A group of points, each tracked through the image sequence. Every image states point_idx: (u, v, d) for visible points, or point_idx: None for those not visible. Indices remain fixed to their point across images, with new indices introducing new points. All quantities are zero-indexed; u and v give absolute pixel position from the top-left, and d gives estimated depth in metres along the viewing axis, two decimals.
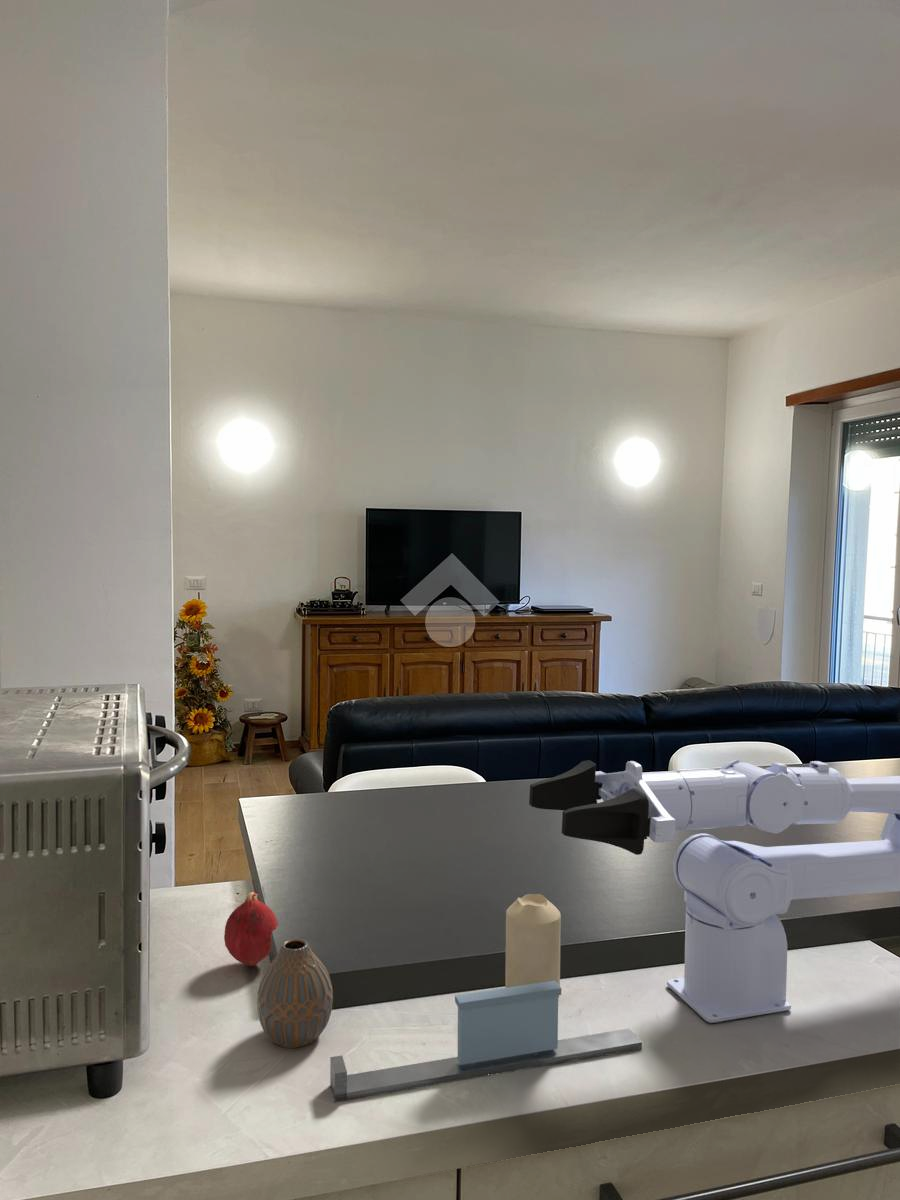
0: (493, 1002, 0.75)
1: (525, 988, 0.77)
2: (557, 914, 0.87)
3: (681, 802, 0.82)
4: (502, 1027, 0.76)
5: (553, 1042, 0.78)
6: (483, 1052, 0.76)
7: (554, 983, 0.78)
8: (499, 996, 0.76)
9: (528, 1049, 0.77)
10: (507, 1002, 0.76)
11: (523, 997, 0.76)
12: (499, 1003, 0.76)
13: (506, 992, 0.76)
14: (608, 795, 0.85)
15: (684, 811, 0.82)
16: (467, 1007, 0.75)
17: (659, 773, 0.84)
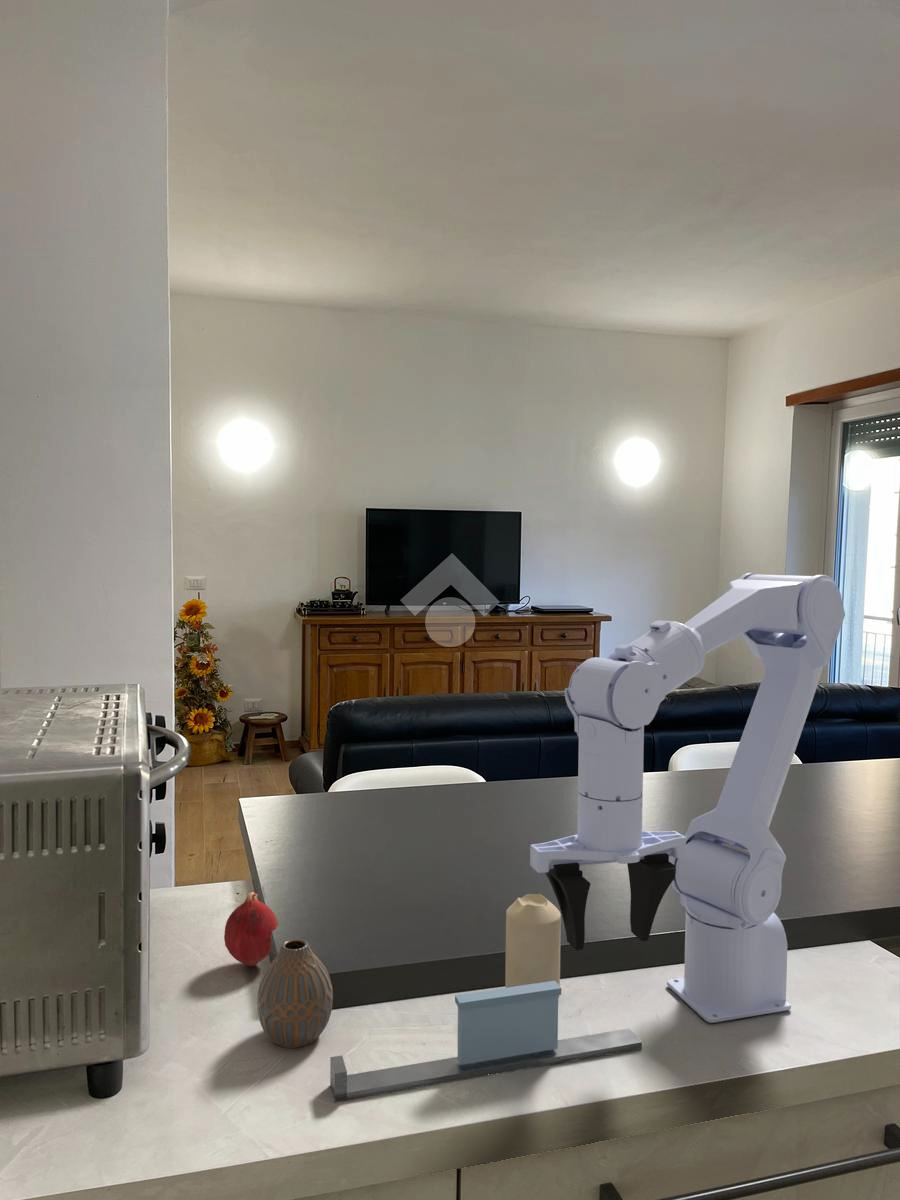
0: (493, 1002, 0.75)
1: (525, 988, 0.77)
2: (557, 914, 0.87)
3: None
4: (502, 1027, 0.76)
5: (553, 1042, 0.78)
6: (483, 1052, 0.76)
7: (554, 983, 0.78)
8: (499, 996, 0.76)
9: (528, 1049, 0.77)
10: (507, 1002, 0.76)
11: (523, 997, 0.76)
12: (499, 1003, 0.76)
13: (506, 992, 0.76)
14: (591, 864, 0.78)
15: None
16: (467, 1007, 0.75)
17: (624, 823, 0.76)
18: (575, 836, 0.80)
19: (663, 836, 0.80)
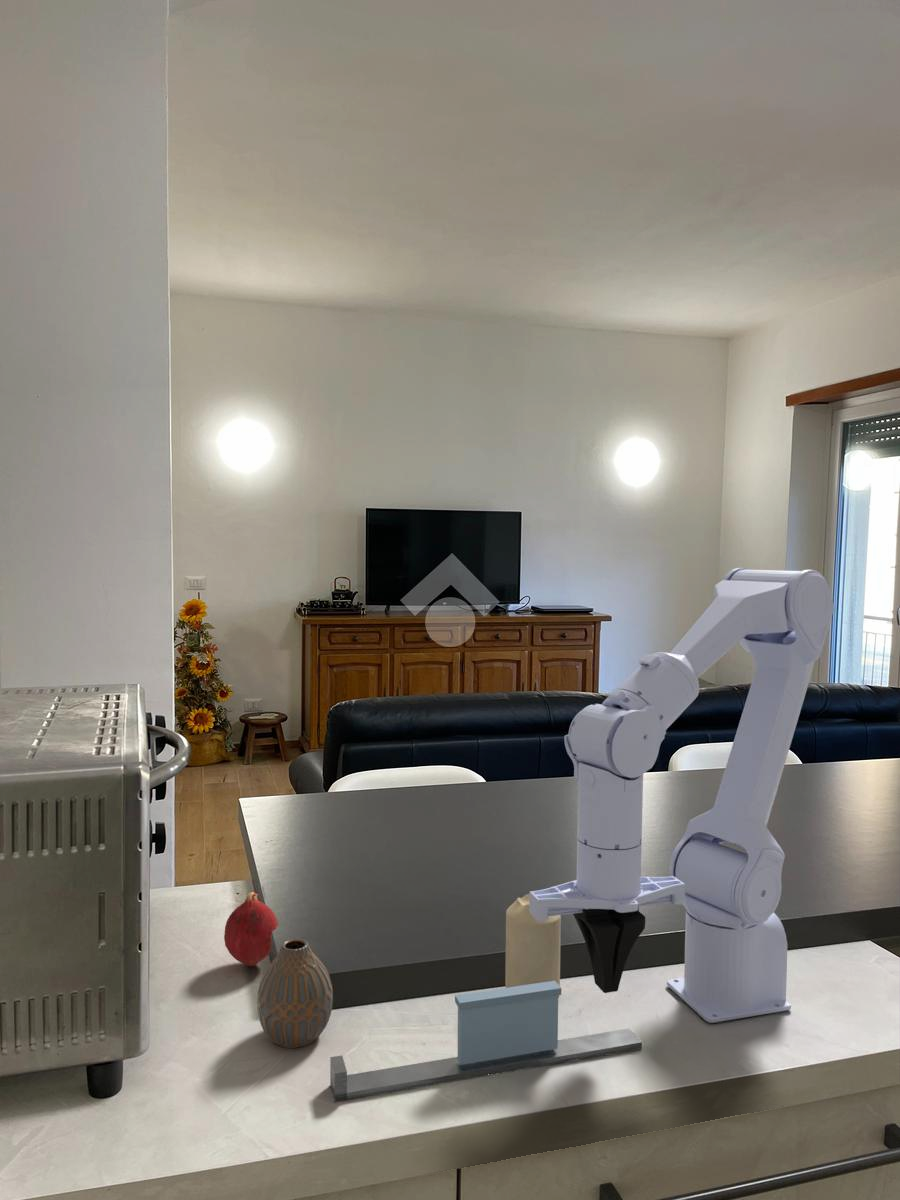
0: (493, 1002, 0.75)
1: (525, 988, 0.77)
2: None
3: None
4: (502, 1027, 0.76)
5: (553, 1042, 0.78)
6: (483, 1052, 0.76)
7: (554, 983, 0.78)
8: (499, 996, 0.76)
9: (528, 1049, 0.77)
10: (507, 1002, 0.76)
11: (523, 997, 0.76)
12: (499, 1003, 0.76)
13: (506, 992, 0.76)
14: None
15: None
16: (467, 1007, 0.75)
17: (623, 871, 0.76)
18: (574, 882, 0.80)
19: (662, 882, 0.80)
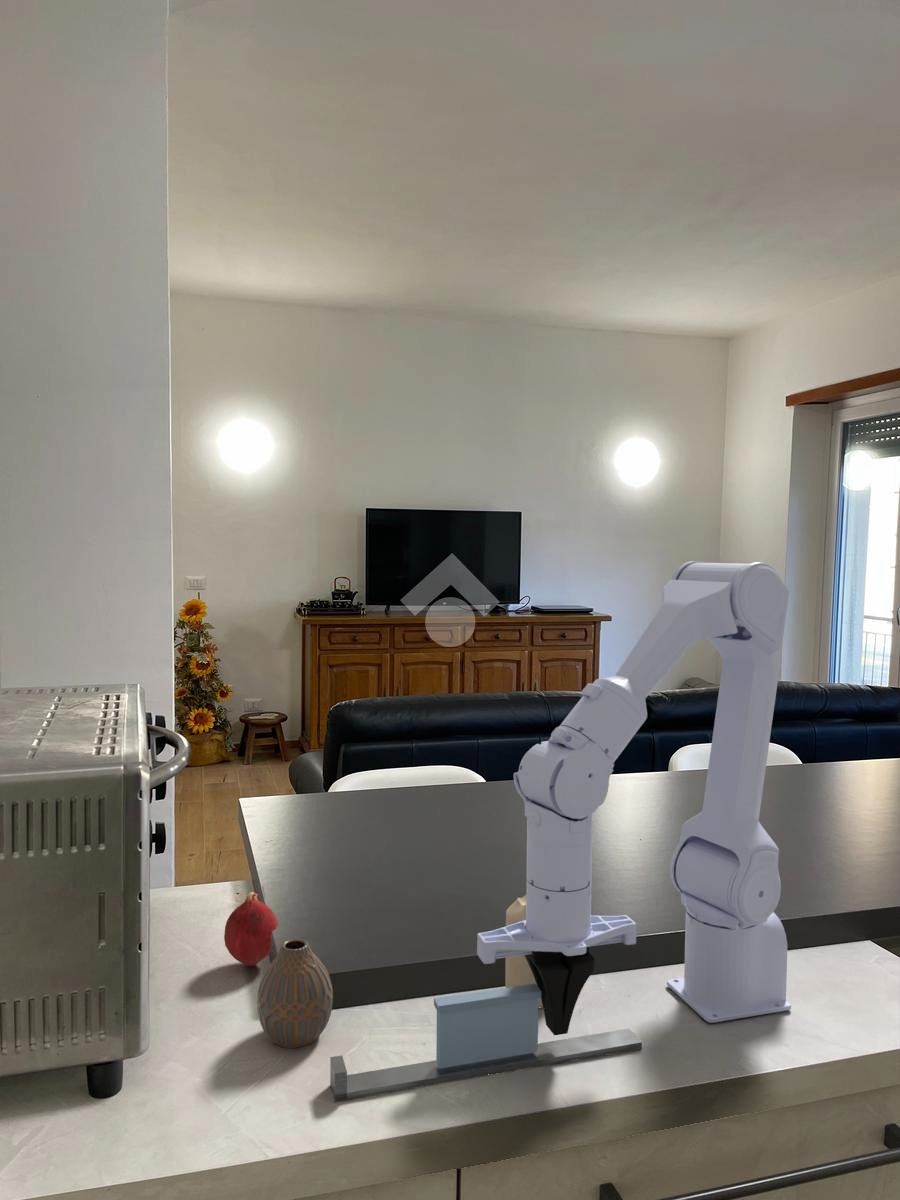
0: (472, 1005, 0.75)
1: (505, 991, 0.77)
2: None
3: None
4: (481, 1030, 0.76)
5: (533, 1045, 0.77)
6: (462, 1055, 0.75)
7: (534, 985, 0.78)
8: (478, 999, 0.75)
9: (507, 1053, 0.76)
10: (486, 1005, 0.75)
11: (502, 1000, 0.76)
12: (478, 1006, 0.75)
13: (485, 995, 0.76)
14: None
15: None
16: (446, 1010, 0.74)
17: (571, 913, 0.75)
18: (524, 922, 0.79)
19: (613, 922, 0.79)
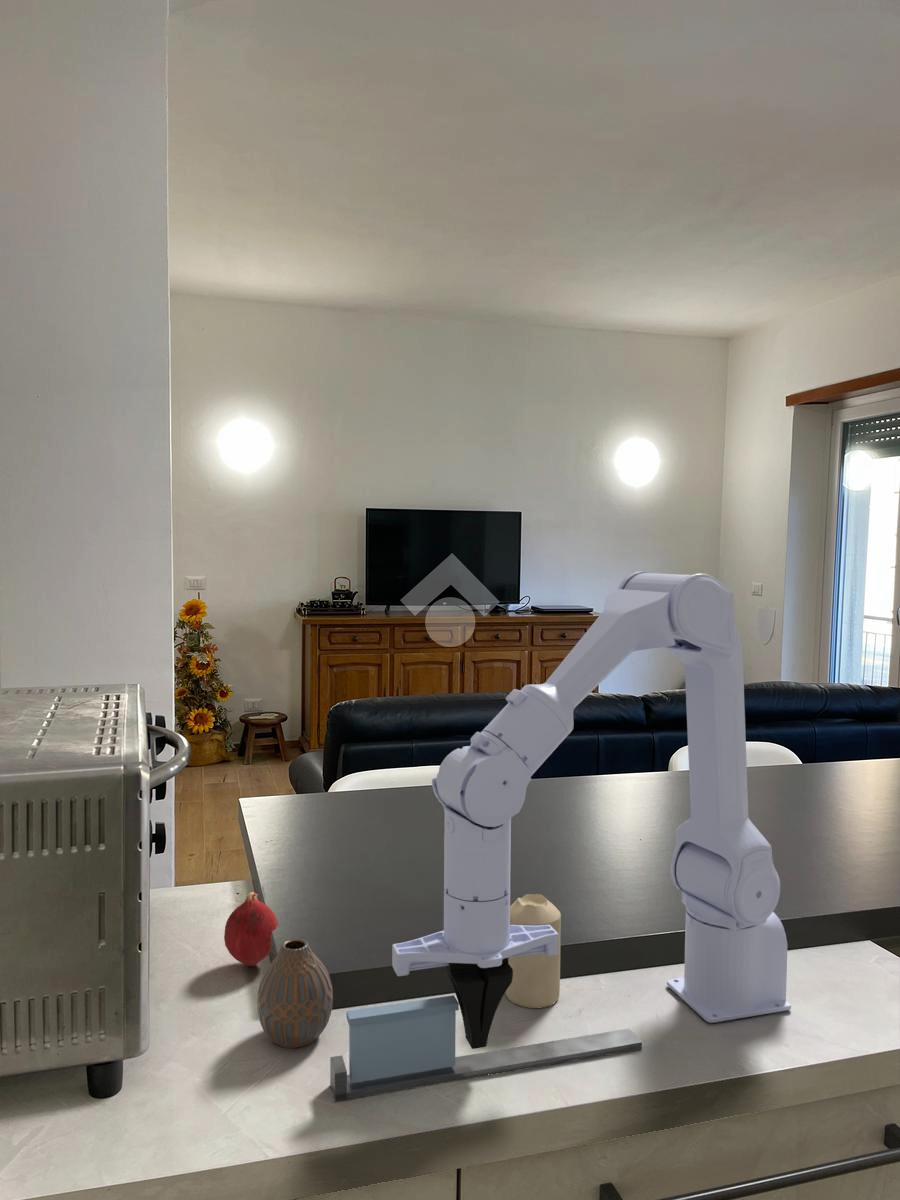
0: (385, 1018, 0.73)
1: (421, 1003, 0.74)
2: (557, 914, 0.87)
3: None
4: (395, 1044, 0.73)
5: (450, 1059, 0.75)
6: (375, 1070, 0.73)
7: (452, 997, 0.75)
8: (391, 1012, 0.73)
9: (423, 1067, 0.74)
10: (400, 1017, 0.73)
11: (417, 1013, 0.74)
12: (392, 1019, 0.73)
13: (400, 1007, 0.74)
14: None
15: None
16: (357, 1023, 0.72)
17: (487, 924, 0.73)
18: (443, 932, 0.77)
19: (535, 932, 0.77)
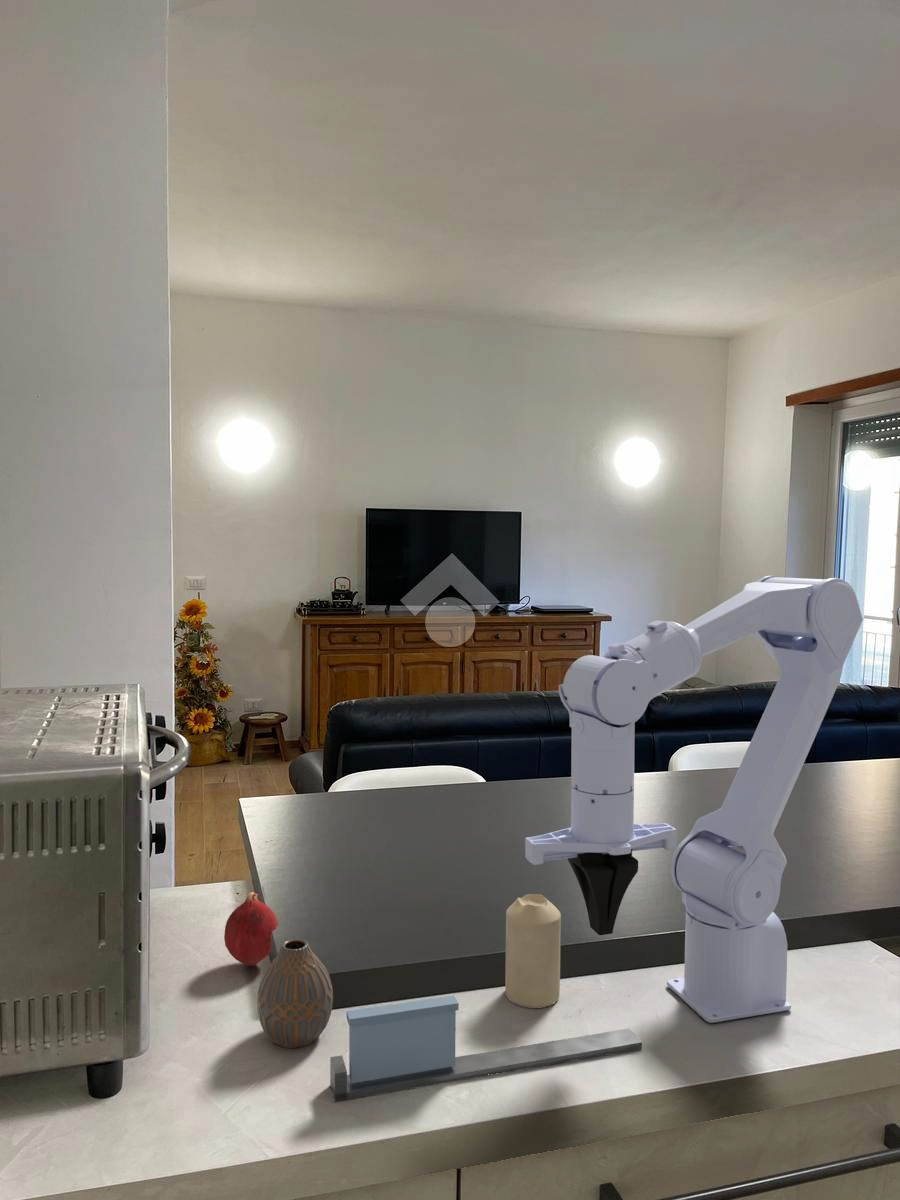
0: (385, 1018, 0.73)
1: (421, 1003, 0.74)
2: (557, 914, 0.87)
3: None
4: (395, 1044, 0.73)
5: (450, 1059, 0.75)
6: (375, 1070, 0.73)
7: (452, 997, 0.75)
8: (391, 1012, 0.73)
9: (423, 1067, 0.74)
10: (400, 1017, 0.73)
11: (417, 1013, 0.74)
12: (392, 1019, 0.73)
13: (400, 1007, 0.74)
14: None
15: None
16: (357, 1023, 0.72)
17: (616, 816, 0.78)
18: (569, 829, 0.82)
19: (654, 828, 0.82)
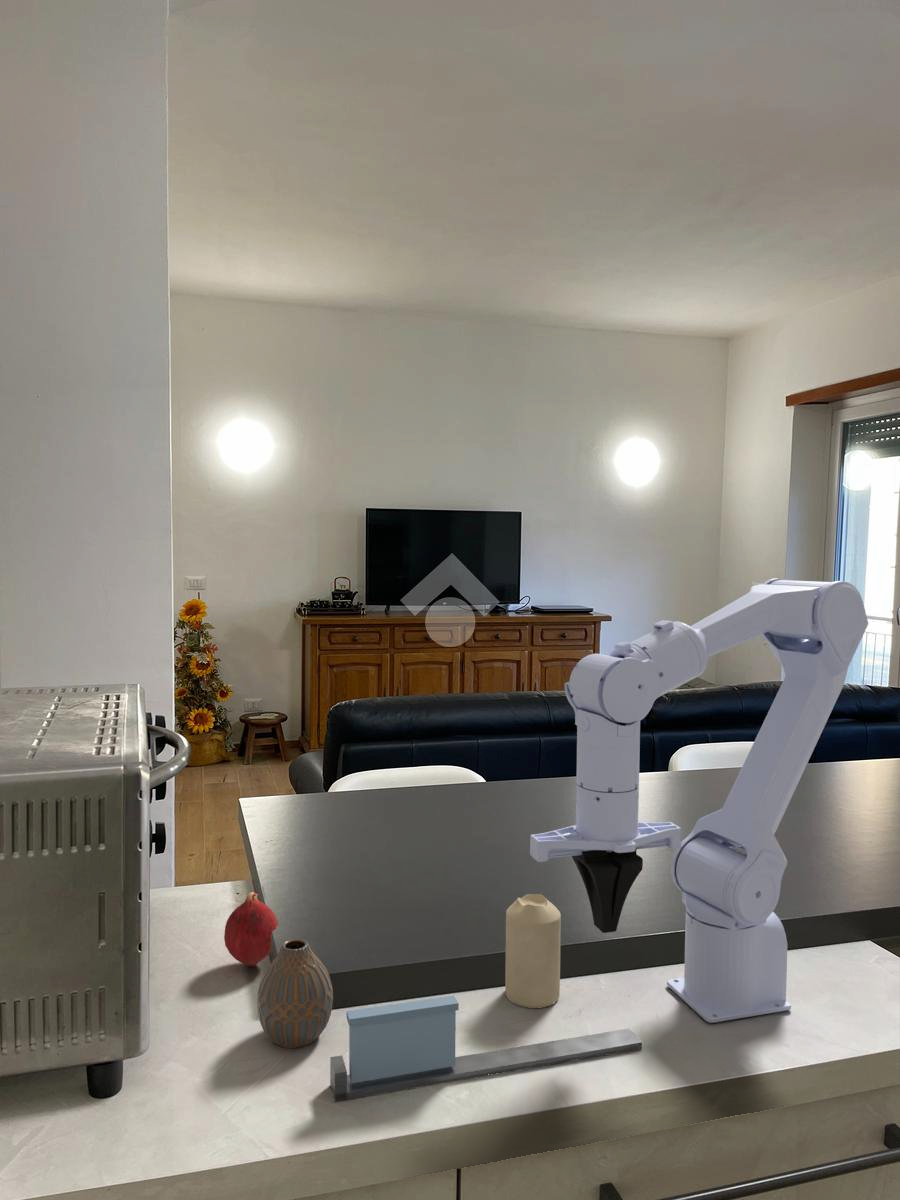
0: (385, 1018, 0.73)
1: (421, 1003, 0.74)
2: (557, 914, 0.87)
3: None
4: (395, 1044, 0.73)
5: (450, 1059, 0.75)
6: (375, 1070, 0.73)
7: (452, 997, 0.75)
8: (391, 1012, 0.73)
9: (423, 1067, 0.74)
10: (400, 1017, 0.73)
11: (417, 1013, 0.74)
12: (392, 1019, 0.73)
13: (400, 1007, 0.74)
14: None
15: None
16: (357, 1023, 0.72)
17: (621, 813, 0.78)
18: (574, 826, 0.82)
19: (659, 827, 0.83)
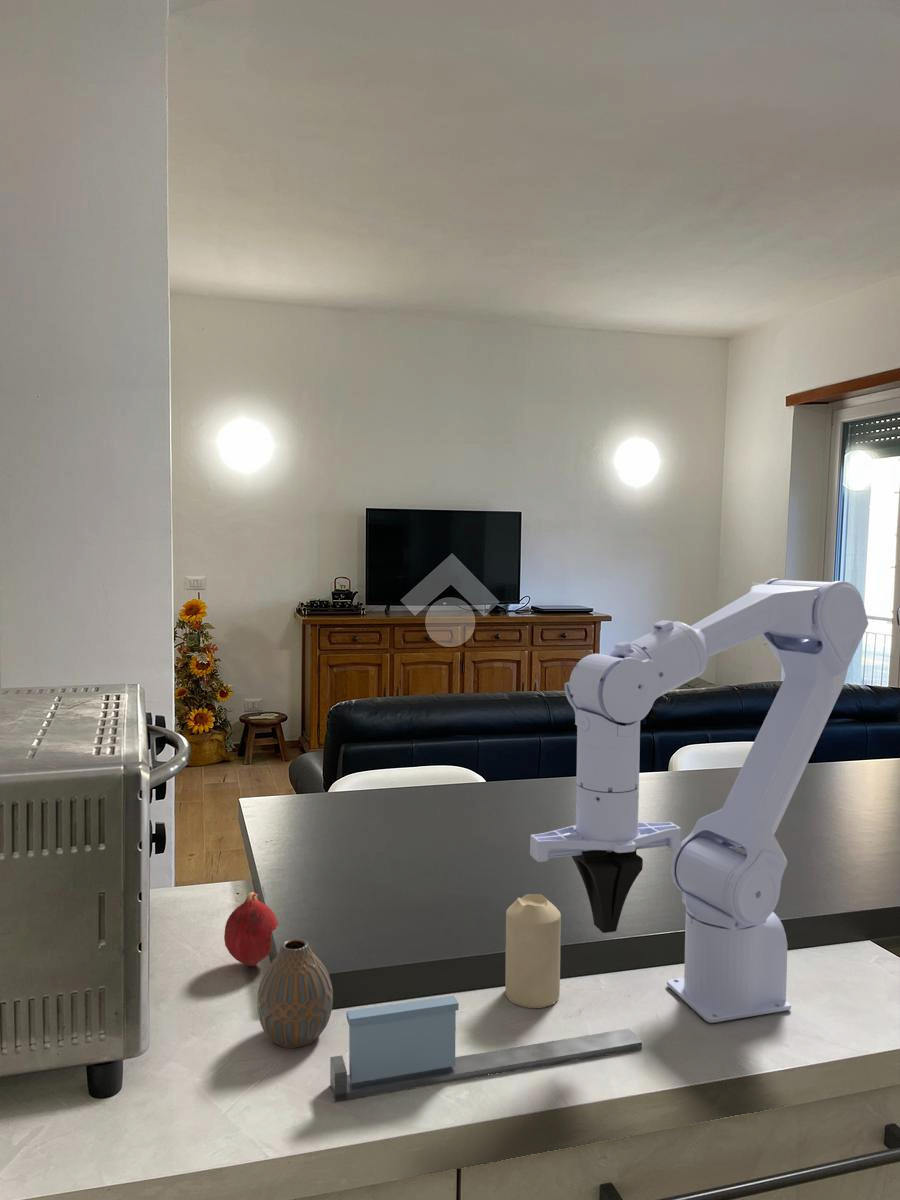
0: (385, 1018, 0.73)
1: (421, 1003, 0.74)
2: (557, 914, 0.87)
3: None
4: (395, 1044, 0.73)
5: (450, 1059, 0.75)
6: (375, 1070, 0.73)
7: (452, 997, 0.75)
8: (391, 1012, 0.73)
9: (423, 1067, 0.74)
10: (400, 1017, 0.73)
11: (417, 1013, 0.74)
12: (392, 1019, 0.73)
13: (400, 1007, 0.74)
14: None
15: None
16: (357, 1023, 0.72)
17: (621, 813, 0.78)
18: (574, 826, 0.82)
19: (659, 827, 0.83)
